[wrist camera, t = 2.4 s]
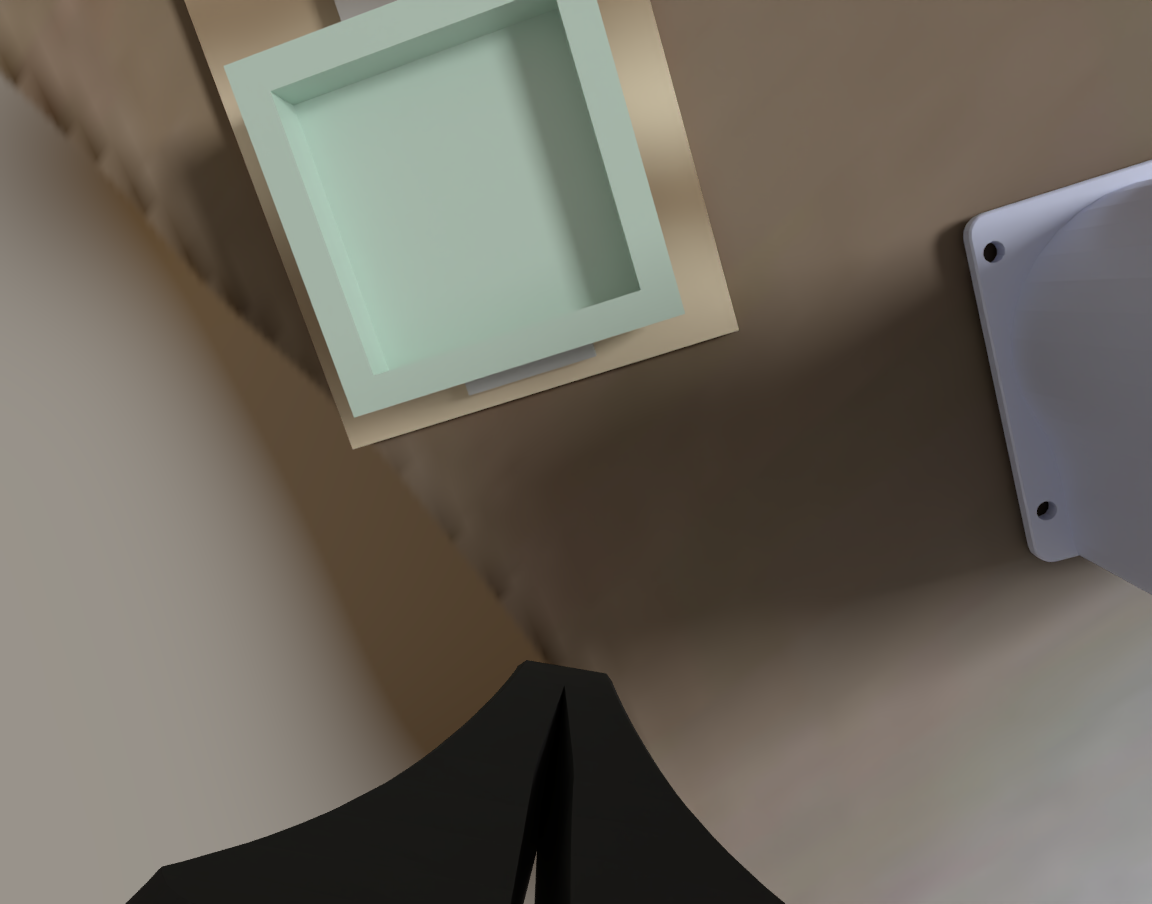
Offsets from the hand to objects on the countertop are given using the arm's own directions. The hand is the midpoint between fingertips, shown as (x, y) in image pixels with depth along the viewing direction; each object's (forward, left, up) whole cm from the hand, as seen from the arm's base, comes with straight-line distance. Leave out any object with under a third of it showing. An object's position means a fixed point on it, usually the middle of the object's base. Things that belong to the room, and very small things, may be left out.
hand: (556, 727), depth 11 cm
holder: (+9, 0, -9) cm, 13 cm away
